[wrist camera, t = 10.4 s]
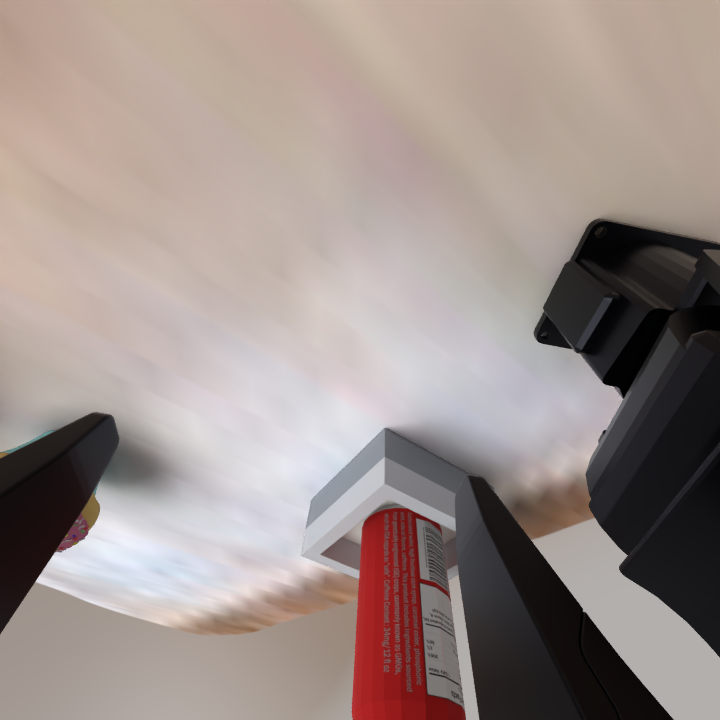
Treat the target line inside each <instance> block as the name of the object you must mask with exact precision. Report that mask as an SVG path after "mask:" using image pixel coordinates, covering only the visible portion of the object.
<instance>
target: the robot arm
mask: <svg viewBox="0 0 720 720" xmlns="http://www.w3.org/2000/svg"><path fill="white" fill-rule="evenodd" d="M600 227H603V231H602V232H601V233H600V234H599V235H595V232H596V230H597V229H598V228H600ZM543 309H544V313H543V315H542V317H541V319H540V321H539V322H538V324H537V326H536V328H535V330H534V337H535V338H536V340H537V341H538V342H539V343H542V344H547V345H552V346H558V347H563V348H568V349H573V350H574V351H575V352H576V353H579V354H581V356H582V357H583V358H584V359H585V361H586V362H587V363H588V365H589V366H590V367H591V368H592V370H593V371H594V372H595V373H596V375H597V376H598V377H599V379H600V380H601V381H602V382H603V384H605V385H609V386H613V387H614V388H615V389H616V390H617V392H618V393H619V394H620V395H621V397H622V398H623V401H622V403H621V405H620V407H619V408H618V410H617V412H616V414H615V416H614V417H613V419H612V421H611V423H610V425H609V426H608V428H607V430H604V431H603V433H602V434H601V436H600V438H599V444H598V446H597V448H596V450H595V452H594V453H593V455H592V457H591V459H590V462H589V465H588V468H587V471H586V479H587V484H588V490H589V495H590V497H591V500H590V502H589V508H590V510H591V512H592V513H593V515H594V517H595V518H596V520H597V522H598V523H599V525H600V526H601V527H602V529H603V530H604V531H605V532H606V533H607V534H608V535H609V537H610V538H611V539H612V540H613V541H614V542H615V543H616V545H617V546H618V547H619V548H620V549H621V550H622V551H623V552H624V553H626V554H627V555H628V556H627V557H626V559H625V560H624V561H623V562H622V563H621V565H620V566H619V570H620V572H621V573H622V574H623V575H624V576H625V577H627V578H628V579H630V580H632V581H633V582H635V583H636V584H638V585H639V586H641V587H643V588H644V589H646V590H648V591H649V592H651V593H652V594H654V595H655V596H657V597H658V598H659V599H660V600H662V601H663V602H664V603H665V604H666V605H667V606H669V607H670V608H671V609H672V610H673V611H675V612H676V613H677V614H678V615H679V616H680V617H682V618H683V619H684V620H685V621H686V622H688V624H689V625H690V626H691V627H692V628H693V629H694V630H695V631H696V632H697V633H698V634H699V635H700V636H701V637H702V638H703V639H704V640H705V641H706V642H707V643H708V644H709V646H710V647H711V648H712V649H713V650H714V651H715V652H716V654H717V655H718V656H719V657H720V244H719V243H717V242H712V241H708V240H703V239H698V238H693V237H688V236H683V235H679V234H674V233H669V232H664V231H659V230H654V229H649V228H645V227H640V226H635V225H630V224H625V223H620V222H616V221H611V220H606V219H597V220H594V221H593V222H591V223H590V224H589V225H588V227H587V228H586V230H585V232H584V234H583V236H582V238H581V240H580V242H579V244H578V246H577V248H576V250H575V252H574V254H573V256H572V258H571V260H570V261H569V262H567V263H566V264H565V265H564V267H563V269H562V271H561V273H560V275H559V277H558V279H557V281H556V283H555V285H554V287H553V289H552V291H551V293H550V295H549V297H548V299H547V301H546V303H545V305H544V307H543ZM544 332H548V333H547V335H545V336H541V335H542V333H544ZM118 443H119V435H118V431H117V428H116V424H115V420H114V417H113V416H112V415H110V414H105V413H99V412H94V413H91V414H88V415H86V416H84V417H82V418H80V419H78V420H76V421H74V422H72V423H70V424H68V425H66V426H64V427H62V428H60V429H58V430H56V431H54V432H52V433H50V434H48V435H46V436H44V437H42V438H40V439H38V440H36V441H34V442H32V443H30V444H28V445H26V446H24V447H22V448H20V449H18V450H16V451H14V452H11V453H9V454H7V455H5V456H3V457H1V458H0V634H1V632H2V631H3V629H4V628H5V626H6V625H7V623H8V622H9V620H10V619H11V617H12V616H13V614H14V613H15V611H16V610H17V608H18V607H19V605H20V604H21V602H22V601H23V599H24V598H25V596H26V595H27V593H28V592H29V590H30V589H31V587H32V586H33V584H34V583H35V581H36V580H37V578H38V577H39V575H40V574H41V572H42V571H43V569H44V568H45V566H46V565H47V563H48V562H49V560H50V559H51V557H52V556H53V554H54V553H55V551H56V550H57V548H58V547H59V545H60V544H61V542H62V541H63V539H64V538H65V536H66V535H67V533H68V532H69V530H70V529H71V527H72V526H73V524H74V523H75V521H76V520H77V518H78V517H79V515H80V514H81V512H82V511H83V509H84V508H85V506H86V504H87V503H88V501H89V499H90V498H91V496H92V494H93V492H94V490H95V488H96V486H97V485H98V483H99V481H100V479H101V477H102V475H103V473H104V471H105V469H106V467H107V465H108V464H109V462H110V460H111V458H112V456H113V454H114V452H115V450H116V448H117V446H118ZM455 524H456V552H457V565H458V573H459V580H460V587H461V594H462V601H463V607H464V615H465V622H466V629H467V635H468V643H469V649H470V656H471V664H472V671H473V678H474V685H475V692H476V698H477V706H478V712H479V720H673V718H672V717H671V716H670V715H669V714H668V713H667V711H666V710H665V709H664V708H663V707H662V706H661V705H660V704H659V702H658V701H657V700H656V699H655V697H654V696H653V695H652V694H651V693H650V692H649V691H648V689H647V688H646V687H645V686H644V685H643V684H642V682H641V681H640V680H639V679H638V678H637V676H636V675H635V674H634V673H633V672H632V670H631V669H630V668H629V667H628V666H627V665H626V663H625V662H624V661H623V660H622V658H620V656H619V655H618V653H617V652H616V651H615V650H614V648H613V647H612V646H611V645H610V643H609V642H608V641H607V640H606V638H605V637H604V636H603V634H602V633H601V632H600V631H599V629H598V628H597V627H596V625H595V624H594V623H593V621H592V620H591V619H590V617H589V616H588V615H587V613H585V612H583V608H582V607H581V606H580V604H579V603H578V602H577V600H576V599H575V598H574V596H573V595H572V594H571V592H570V591H569V590H568V589H567V587H566V586H565V585H564V583H563V582H562V581H561V579H560V578H559V577H558V575H557V574H556V573H555V571H554V570H553V569H552V567H551V566H550V565H549V563H548V562H547V561H546V559H545V558H544V557H543V555H542V554H541V553H540V552H539V550H538V549H537V548H536V547H535V545H534V544H533V542H532V541H531V540H530V538H529V537H528V536H527V534H526V533H525V532H524V530H523V529H522V528H521V526H520V525H519V524H518V522H517V521H516V520H515V518H514V517H513V516H512V515H511V513H510V512H509V511H508V509H507V508H506V507H505V505H504V504H503V503H502V501H501V500H500V499H499V497H498V496H497V495H496V493H495V492H494V491H493V489H492V488H491V487H490V485H489V484H488V483H487V482H486V480H485V479H484V478H483V477H481V476H477V475H471V474H467V475H466V476H465V477H464V479H463V481H462V483H461V484H460V486H459V488H458V490H457V492H456V495H455Z"/></svg>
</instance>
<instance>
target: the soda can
mask: <svg viewBox="0 0 720 720" xmlns="http://www.w3.org/2000/svg"><path fill="white" fill-rule="evenodd" d="M354 663H355V664H354V681H353V698H352V717H353V720H466V717H465V708H464V701H463V693H462V685H461V677H460V670H459V662H458V654H457V646H456V638H455V631H454V623H453V615H452V607H451V599H450V592H449V584H448V576H447V568H446V560H445V553H444V545H443V537H442V529H441V527H440V524H439V523H437V522H435V521H433V520H431V519H429V518H426V517H424V516H422V515H420V514H418V513H416V512H414V511H412V510H410V509H408V508H406V507H404V506H402V505H391V506H386V507H383V508H381V509H379V510H377V511H375V512H374V513H373V514H372V515H371V516H369V517H368V518H367V519H366V520H365V521H364V524H363V526H362V537H361V555H360V573H359V591H358V609H357V626H356V644H355V662H354Z"/></svg>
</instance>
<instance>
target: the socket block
mask: <svg viewBox="0 0 720 720" xmlns="http://www.w3.org/2000/svg"><path fill="white" fill-rule="evenodd" d="M467 474H468V473H466V472H464V471H462V470H461V469H459V468H457V467H455V466H453V465H451V464H450V463H448V462H446V461H444V460H442V459H440V458H439V457H437V456H435V455H433V454H431V453H430V452H428V451H426V450H424V449H422V448H420V447H419V446H417V445H415V444H413V443H411V442H409V441H408V440H406V439H404V438H402V437H400V436H398V435H397V434H395V433H393V432H391V431H389V430H387V429H386V428H384V429H383V430H382V431H381V432H380V433H379V434H378V435H377V436H376V437H375V438H374V439H373V440H372V441H371V442H370V443H369V444H368V445H367V446H366V447H365V448H364V449H363V450H362V451H361V452H360V453H359V454H358V455H357V456H356V457H355V458H354V459H353V460H352V461H351V462H350V463H349V464H348V465H347V466H346V467H345V468H343V469H342V470H341V471H340V472H339V473H338V474H337V475H336V476H335V477H334V478H333V479H332V480H331V481H330V482H329V483H328V484H327V485H326V486H325V487H324V488H323V489H322V490H321V491H320V492H319V493H318V494H317V495H316V496H315V497H314V498H313V499H312V500H311V504H310V509H309V514H308V519H307V524H306V530H305V535H304V540H303V545H302V550H301V556H303V557H305V558H308V559H310V560H313V561H315V562H318V563H320V564H323V565H325V566H328V567H330V568H333V569H335V570H338V571H340V572H343V573H345V574H348V575H350V576H353V577H355V578H358V579H359V573H360V555H361V537H362V526H363V524H364V521H365V520H366V519H367V518H368V517H369V516H371V515H372V514H373V513H374V512H375V511H377V510H379V509H381V508H383V507H386V506H391V505H402V506H404V507H406V508H408V509H410V510H412V511H414V512H416V513H418V514H420V515H422V516H424V517H426V518H429V519H431V520H433V521H435V522H437V523H439V524H440V527H441V529H442V537H443V545H444V553H445V560H446V568H447V576H448V580H450V579H452V578H453V577H455V576H457V575H459V573H458V565H457V552H456V524H455V495H456V492H457V490H458V488H459V486H460V484H461V483H462V481H463V479H464V477H465V476H466V475H467ZM490 487H491V488H492V489H493V491H494V488H493V487H492V486H490Z"/></svg>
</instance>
